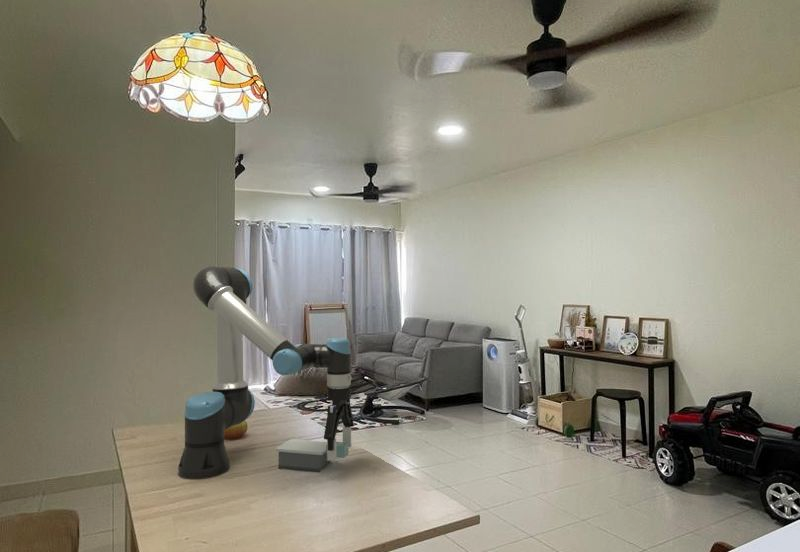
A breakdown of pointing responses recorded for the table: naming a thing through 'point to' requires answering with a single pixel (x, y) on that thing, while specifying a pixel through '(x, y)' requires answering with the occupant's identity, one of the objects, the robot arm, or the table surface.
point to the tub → (302, 461)
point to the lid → (312, 447)
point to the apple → (236, 431)
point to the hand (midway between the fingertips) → (339, 453)
